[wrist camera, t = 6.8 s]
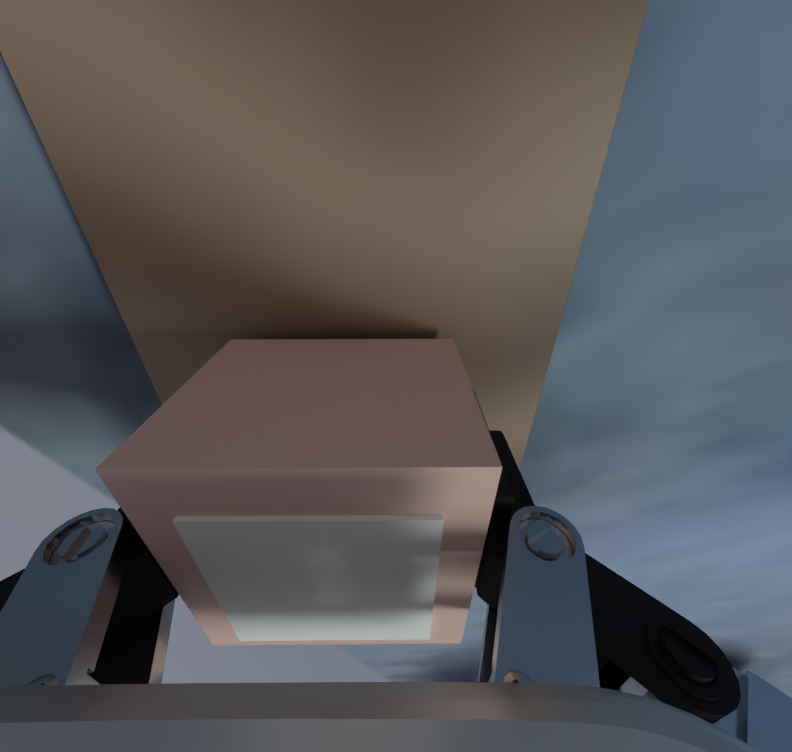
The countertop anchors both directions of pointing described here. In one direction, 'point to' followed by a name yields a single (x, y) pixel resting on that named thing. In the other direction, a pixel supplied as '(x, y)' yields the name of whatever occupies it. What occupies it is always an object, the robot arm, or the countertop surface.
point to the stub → (317, 491)
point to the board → (332, 168)
